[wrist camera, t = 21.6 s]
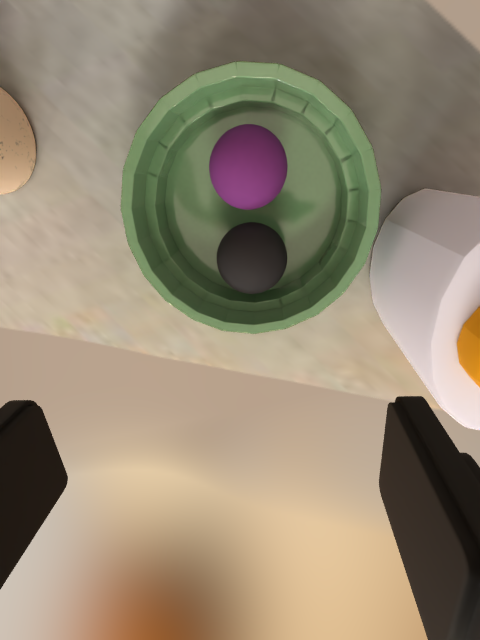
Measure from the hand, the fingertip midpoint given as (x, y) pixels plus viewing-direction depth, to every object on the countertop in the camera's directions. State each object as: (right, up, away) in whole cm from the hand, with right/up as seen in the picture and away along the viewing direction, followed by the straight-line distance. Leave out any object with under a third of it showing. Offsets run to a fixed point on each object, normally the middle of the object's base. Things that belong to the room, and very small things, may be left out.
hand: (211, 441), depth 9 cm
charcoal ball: (+2, +9, +21) cm, 23 cm away
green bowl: (+2, +13, +20) cm, 24 cm away
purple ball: (+1, +15, +18) cm, 24 cm away
